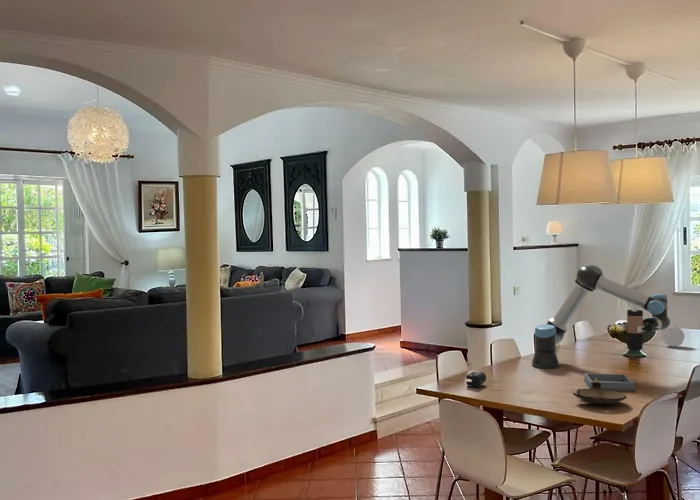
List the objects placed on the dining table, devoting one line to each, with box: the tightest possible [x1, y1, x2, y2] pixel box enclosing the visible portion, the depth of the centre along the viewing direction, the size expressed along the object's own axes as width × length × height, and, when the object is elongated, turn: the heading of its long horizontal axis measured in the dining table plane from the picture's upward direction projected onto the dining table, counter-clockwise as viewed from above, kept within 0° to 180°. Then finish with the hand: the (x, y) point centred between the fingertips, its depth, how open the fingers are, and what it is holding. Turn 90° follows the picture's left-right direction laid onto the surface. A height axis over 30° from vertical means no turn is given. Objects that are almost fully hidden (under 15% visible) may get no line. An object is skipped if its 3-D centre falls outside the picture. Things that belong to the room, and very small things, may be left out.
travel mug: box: [626, 309, 644, 351], centre depth 333 cm, size 8×8×20 cm
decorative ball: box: [659, 323, 685, 347], centre depth 429 cm, size 15×13×15 cm
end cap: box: [465, 371, 487, 389], centre depth 325 cm, size 10×7×7 cm
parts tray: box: [583, 372, 635, 392], centre depth 321 cm, size 20×20×4 cm
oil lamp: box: [572, 378, 627, 406], centre depth 291 cm, size 22×30×8 cm
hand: (630, 328), depth 330 cm, fingers closed on travel mug, 7 cm apart
